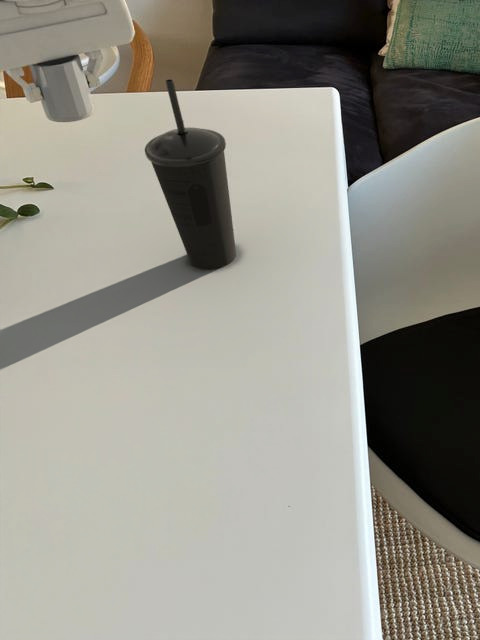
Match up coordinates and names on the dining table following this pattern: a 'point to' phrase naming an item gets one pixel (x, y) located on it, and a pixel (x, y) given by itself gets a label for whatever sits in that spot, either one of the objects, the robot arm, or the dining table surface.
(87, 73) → the robot arm
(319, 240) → the dining table surface
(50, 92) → the grey faceted cup
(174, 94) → the drinking cup
